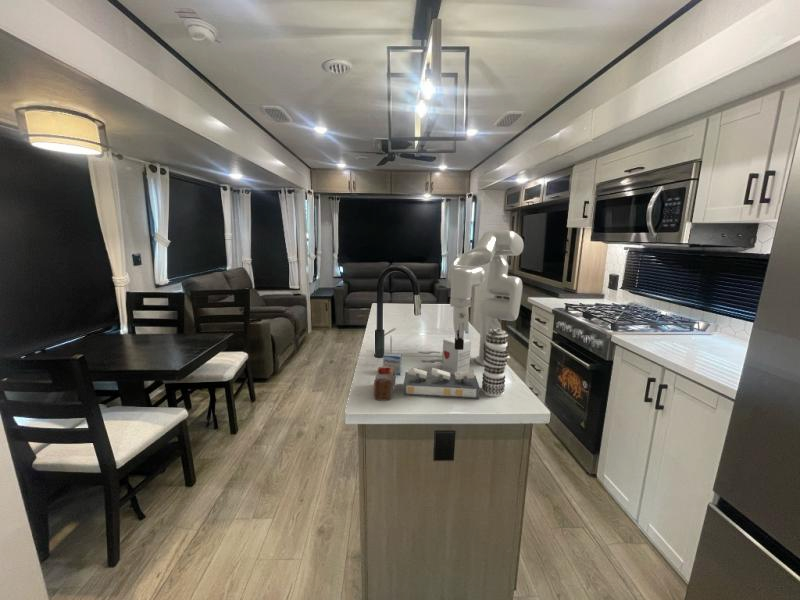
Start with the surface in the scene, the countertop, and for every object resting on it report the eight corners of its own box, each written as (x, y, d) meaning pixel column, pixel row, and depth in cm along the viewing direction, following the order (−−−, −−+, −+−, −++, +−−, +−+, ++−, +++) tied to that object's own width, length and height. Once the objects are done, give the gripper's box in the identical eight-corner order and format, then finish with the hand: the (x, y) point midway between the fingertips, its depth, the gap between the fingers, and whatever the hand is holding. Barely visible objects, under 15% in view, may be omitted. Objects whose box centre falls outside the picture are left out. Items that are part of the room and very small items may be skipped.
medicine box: (382, 374, 139) (382, 355, 138) (384, 370, 144) (384, 352, 142) (400, 375, 138) (400, 356, 137) (401, 371, 143) (402, 353, 141)
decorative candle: (486, 384, 131) (490, 325, 126) (508, 390, 125) (513, 329, 121) (476, 392, 124) (480, 330, 120) (499, 399, 118) (504, 335, 114)
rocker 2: (448, 375, 125) (449, 372, 125) (449, 379, 122) (450, 376, 121) (431, 371, 125) (432, 367, 125) (431, 374, 122) (432, 371, 122)
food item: (376, 384, 130) (376, 361, 128) (395, 384, 130) (396, 361, 128) (373, 400, 117) (372, 375, 115) (394, 401, 117) (395, 375, 115)
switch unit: (474, 387, 128) (475, 369, 127) (478, 399, 118) (479, 380, 117) (405, 383, 131) (405, 366, 129) (403, 395, 121) (403, 376, 119)
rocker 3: (473, 373, 124) (472, 370, 124) (474, 377, 120) (474, 373, 120) (455, 375, 125) (454, 371, 125) (455, 379, 121) (455, 375, 121)
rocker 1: (425, 374, 126) (426, 371, 126) (425, 378, 122) (426, 375, 122) (408, 369, 126) (409, 366, 126) (408, 373, 123) (409, 370, 122)
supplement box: (441, 370, 144) (442, 338, 141) (454, 365, 150) (455, 335, 147) (456, 377, 137) (458, 344, 135) (469, 372, 143) (471, 340, 140)
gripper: (473, 306, 110) (471, 356, 114) (468, 297, 124) (466, 342, 128) (451, 306, 111) (450, 356, 114) (449, 297, 125) (447, 342, 129)
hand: (458, 348), depth 121 cm, fingers closed
